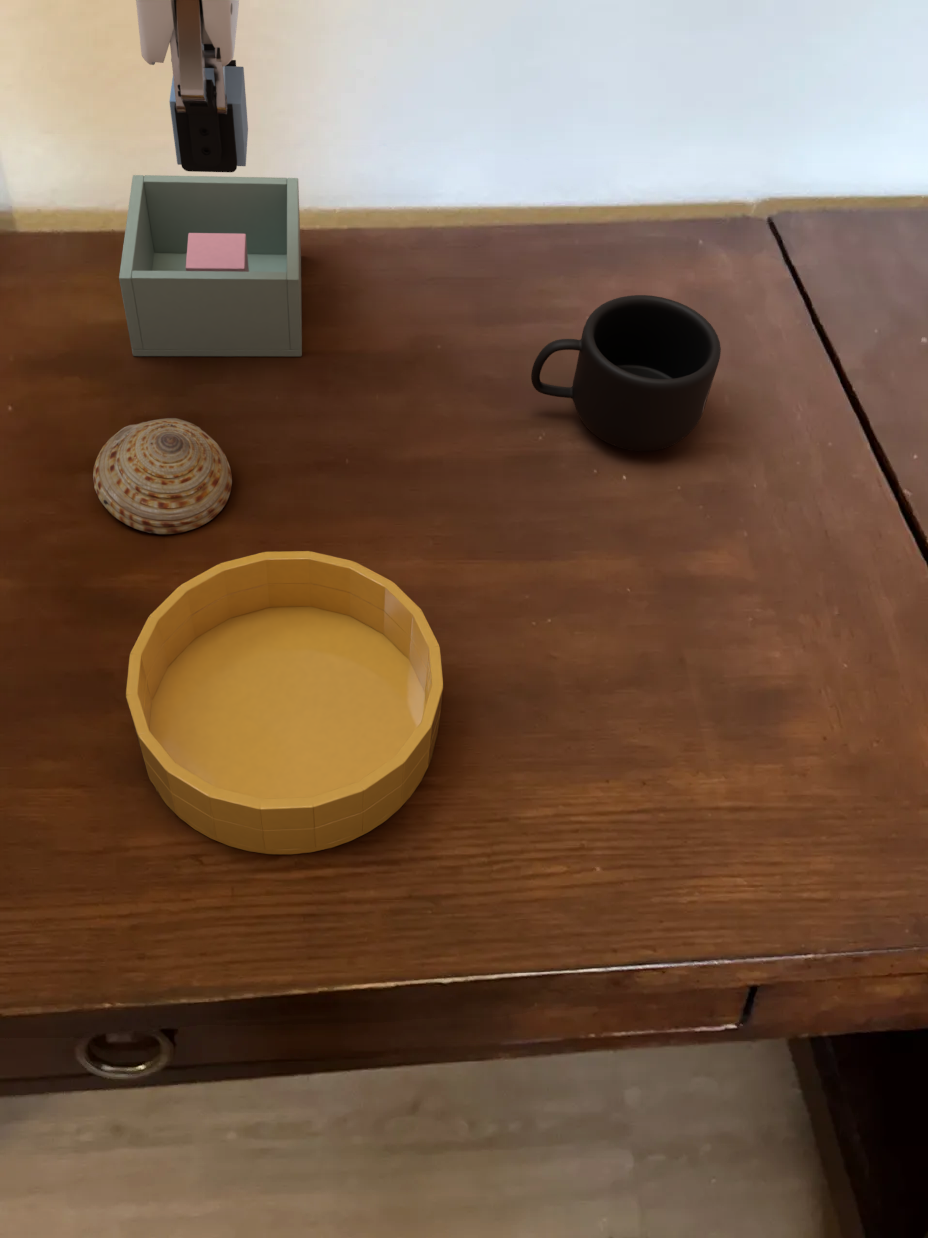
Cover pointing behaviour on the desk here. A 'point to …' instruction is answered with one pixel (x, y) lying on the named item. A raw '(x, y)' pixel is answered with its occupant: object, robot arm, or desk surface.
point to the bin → (212, 300)
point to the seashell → (162, 476)
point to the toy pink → (217, 252)
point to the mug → (639, 371)
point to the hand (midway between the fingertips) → (211, 143)
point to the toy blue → (234, 97)
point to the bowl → (286, 701)
